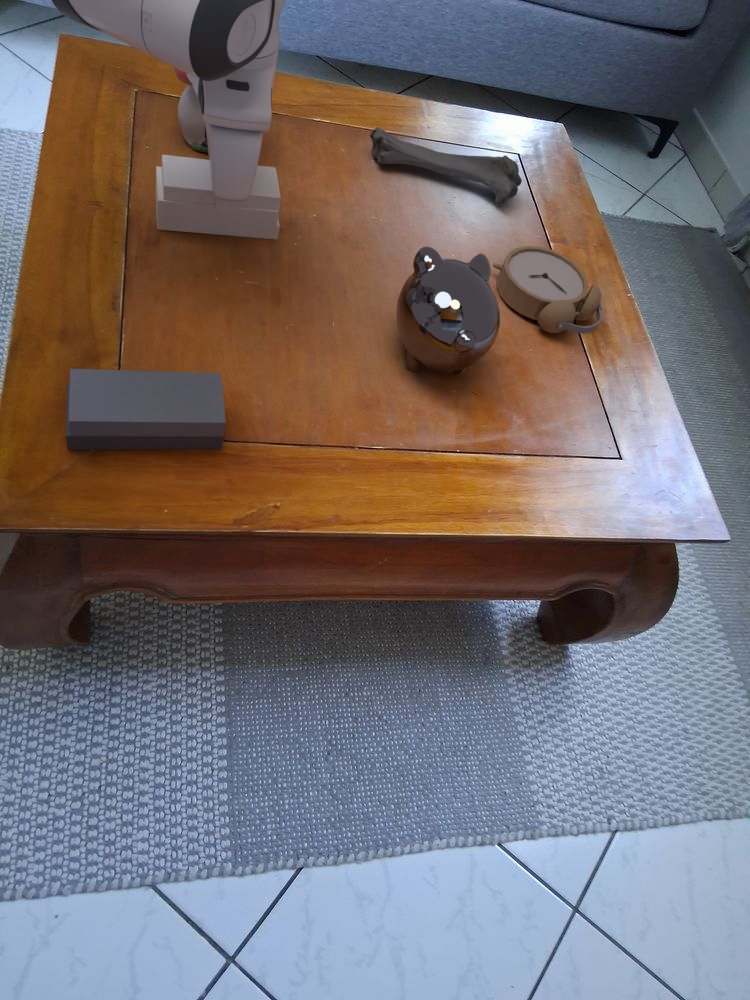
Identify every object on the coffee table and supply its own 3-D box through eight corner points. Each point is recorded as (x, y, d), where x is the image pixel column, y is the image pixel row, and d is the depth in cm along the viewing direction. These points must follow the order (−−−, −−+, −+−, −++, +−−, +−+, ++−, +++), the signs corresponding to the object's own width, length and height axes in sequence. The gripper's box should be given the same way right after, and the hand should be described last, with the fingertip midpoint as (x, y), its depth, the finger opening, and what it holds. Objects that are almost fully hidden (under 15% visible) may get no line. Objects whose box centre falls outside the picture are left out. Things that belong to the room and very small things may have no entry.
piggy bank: (463, 309, 94) (498, 234, 85) (486, 405, 86) (528, 334, 77) (376, 300, 91) (403, 221, 82) (392, 398, 83) (424, 323, 74)
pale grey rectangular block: (163, 199, 85) (163, 185, 83) (161, 167, 88) (161, 154, 86) (278, 210, 89) (281, 197, 87) (273, 180, 92) (275, 167, 90)
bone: (512, 189, 111) (530, 152, 106) (512, 216, 107) (530, 179, 102) (367, 143, 108) (378, 102, 103) (361, 169, 104) (372, 128, 99)
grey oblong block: (157, 229, 88) (157, 200, 85) (155, 195, 91) (156, 166, 88) (277, 239, 92) (282, 212, 89) (272, 206, 95) (276, 179, 92)
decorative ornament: (176, 154, 96) (181, 32, 84) (166, 122, 99) (169, -1, 86) (248, 156, 99) (263, 39, 87) (236, 124, 102) (249, 7, 90)
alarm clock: (542, 236, 101) (630, 295, 95) (531, 268, 105) (615, 327, 98) (484, 258, 96) (573, 322, 89) (475, 291, 99) (560, 355, 93)
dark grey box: (67, 450, 70) (63, 421, 66) (68, 398, 73) (65, 368, 69) (222, 449, 74) (226, 422, 71) (217, 401, 77) (221, 372, 74)
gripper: (192, 1, 80) (186, 122, 92) (206, 119, 70) (196, 239, 81) (252, 12, 82) (239, 129, 93) (274, 127, 72) (255, 244, 83)
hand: (219, 181), depth 87 cm, fingers open, 8 cm apart
